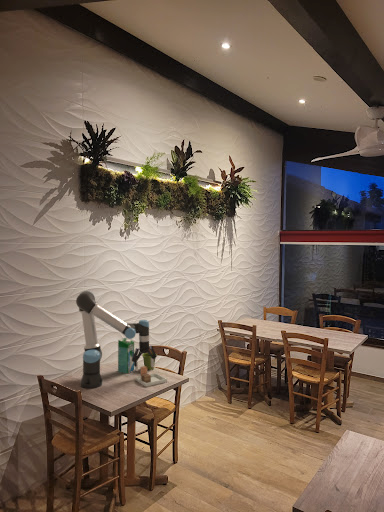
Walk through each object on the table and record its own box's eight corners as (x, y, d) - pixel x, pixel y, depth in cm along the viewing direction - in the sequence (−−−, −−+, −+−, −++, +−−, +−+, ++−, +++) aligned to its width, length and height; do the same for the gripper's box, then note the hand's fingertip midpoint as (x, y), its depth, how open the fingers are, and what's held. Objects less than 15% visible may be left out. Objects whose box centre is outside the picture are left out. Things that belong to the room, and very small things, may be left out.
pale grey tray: (146, 387, 284) (146, 383, 284) (135, 380, 297) (135, 377, 297) (166, 382, 295) (166, 378, 295) (155, 376, 307) (155, 373, 307)
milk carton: (127, 373, 313) (127, 341, 312) (117, 371, 316) (118, 339, 315) (134, 370, 321) (134, 338, 320) (124, 368, 325) (124, 337, 324)
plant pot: (159, 367, 328) (159, 353, 328) (151, 371, 317) (152, 357, 317) (146, 365, 333) (146, 351, 333) (139, 369, 322) (139, 355, 322)
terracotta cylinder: (142, 378, 303) (142, 368, 302) (139, 376, 307) (139, 367, 306) (148, 376, 306) (148, 367, 306) (145, 375, 310) (145, 365, 310)
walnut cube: (150, 382, 293) (150, 375, 292) (144, 383, 290) (144, 376, 289) (147, 380, 297) (147, 373, 296) (141, 381, 294) (141, 374, 293)
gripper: (131, 344, 295) (132, 373, 296) (160, 339, 310) (161, 366, 311) (126, 342, 301) (127, 370, 302) (155, 337, 316) (156, 364, 317)
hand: (144, 368), depth 306 cm, fingers open, 13 cm apart
